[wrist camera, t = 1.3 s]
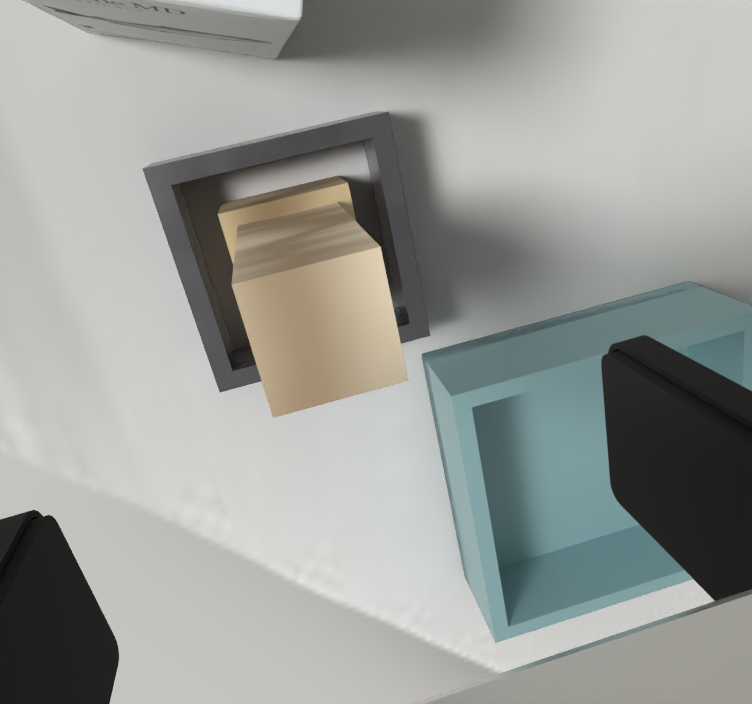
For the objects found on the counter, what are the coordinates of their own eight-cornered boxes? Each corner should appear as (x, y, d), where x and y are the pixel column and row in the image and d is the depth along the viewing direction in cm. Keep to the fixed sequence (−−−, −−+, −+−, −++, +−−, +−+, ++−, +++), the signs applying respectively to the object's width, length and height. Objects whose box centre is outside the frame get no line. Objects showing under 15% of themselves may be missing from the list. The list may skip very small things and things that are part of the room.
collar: (376, 111, 27) (388, 111, 24) (416, 318, 30) (430, 335, 28) (152, 163, 26) (142, 168, 23) (222, 370, 29) (219, 392, 27)
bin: (688, 281, 32) (761, 309, 28) (690, 506, 38) (751, 560, 34) (421, 354, 31) (451, 396, 26) (464, 576, 37) (495, 642, 32)
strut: (338, 175, 27) (397, 218, 16) (363, 287, 29) (431, 392, 18) (220, 203, 27) (201, 268, 16) (254, 315, 29) (258, 441, 18)
